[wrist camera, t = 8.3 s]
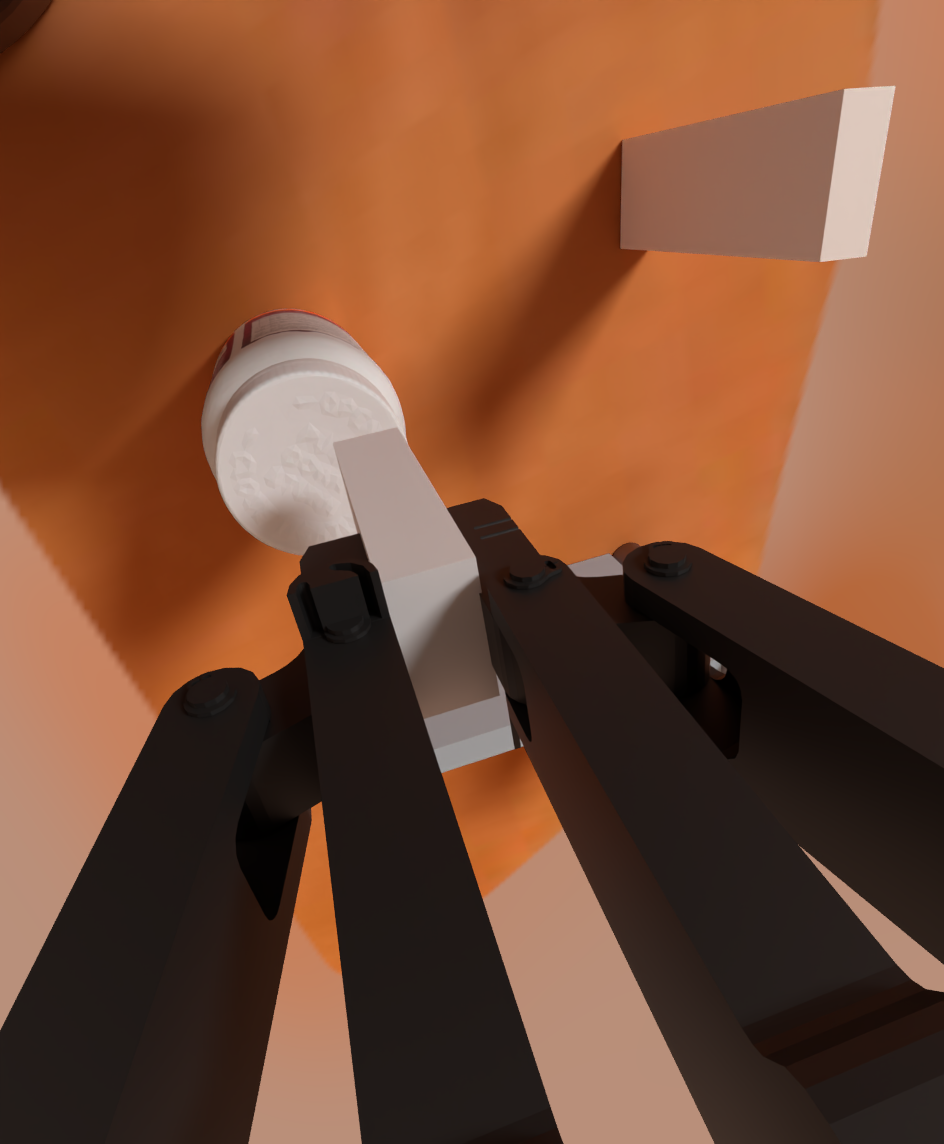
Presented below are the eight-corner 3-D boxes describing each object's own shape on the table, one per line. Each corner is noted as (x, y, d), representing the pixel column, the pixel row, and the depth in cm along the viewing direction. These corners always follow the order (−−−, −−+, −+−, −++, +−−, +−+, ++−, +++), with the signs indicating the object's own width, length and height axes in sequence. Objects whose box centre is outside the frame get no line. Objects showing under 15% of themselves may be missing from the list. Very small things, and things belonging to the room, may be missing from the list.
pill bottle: (283, 488, 30) (296, 616, 20) (179, 366, 27) (135, 448, 17) (399, 404, 30) (470, 492, 20) (308, 271, 26) (340, 300, 17)
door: (642, 538, 36) (781, 651, 26) (644, 583, 37) (777, 705, 28) (351, 620, 33) (389, 777, 24) (364, 665, 35) (405, 831, 25)
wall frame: (622, 140, 27) (844, 88, 17) (656, 137, 28) (895, 86, 17) (612, 650, 39) (742, 805, 28) (637, 644, 39) (774, 796, 29)
